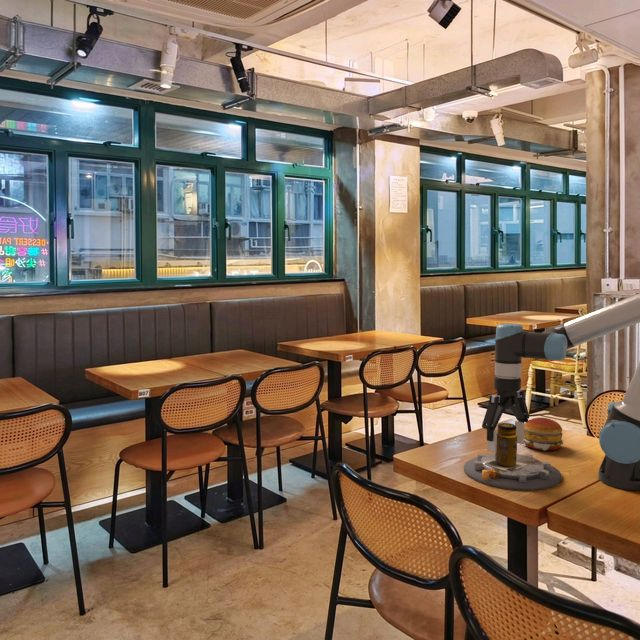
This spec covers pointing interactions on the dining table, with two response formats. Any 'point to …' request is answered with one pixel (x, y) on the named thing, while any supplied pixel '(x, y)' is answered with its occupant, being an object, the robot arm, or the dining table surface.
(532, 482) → the base
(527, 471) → the grey disc with blocks
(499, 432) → the condiment
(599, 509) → the dining table surface
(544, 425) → the burger
